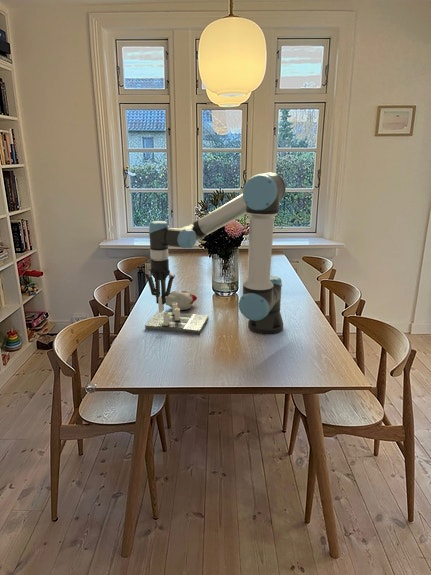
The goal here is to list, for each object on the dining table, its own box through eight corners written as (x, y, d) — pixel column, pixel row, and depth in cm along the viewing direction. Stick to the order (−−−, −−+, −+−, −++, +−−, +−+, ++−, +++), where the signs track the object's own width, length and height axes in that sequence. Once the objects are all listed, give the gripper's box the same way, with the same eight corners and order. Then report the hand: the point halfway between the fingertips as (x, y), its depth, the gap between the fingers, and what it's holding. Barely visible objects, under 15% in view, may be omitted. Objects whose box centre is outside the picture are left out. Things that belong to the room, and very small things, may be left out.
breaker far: (177, 312, 182) (177, 302, 180) (176, 314, 179) (175, 304, 178) (174, 312, 182) (173, 302, 180) (172, 314, 180) (172, 304, 178)
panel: (208, 319, 180) (208, 315, 180) (199, 334, 166) (199, 330, 165) (158, 315, 185) (157, 310, 184) (145, 329, 170) (145, 324, 170)
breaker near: (169, 323, 171) (169, 312, 169) (167, 325, 168) (167, 314, 167) (165, 322, 171) (165, 312, 169) (163, 325, 169) (163, 314, 167)
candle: (163, 309, 191) (185, 303, 202) (180, 314, 184) (201, 309, 196) (164, 290, 189) (186, 286, 200) (181, 295, 182) (203, 291, 194)
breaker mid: (180, 318, 176) (180, 307, 174) (178, 320, 173) (178, 309, 172) (176, 318, 176) (176, 307, 174) (174, 320, 174) (174, 309, 172)
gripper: (177, 257, 169) (178, 308, 177) (148, 255, 172) (150, 306, 180) (171, 261, 162) (172, 315, 170) (141, 259, 165) (144, 312, 173)
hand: (161, 310), depth 175 cm, fingers closed
